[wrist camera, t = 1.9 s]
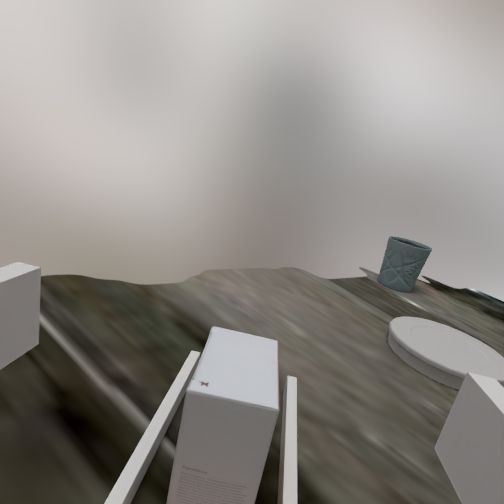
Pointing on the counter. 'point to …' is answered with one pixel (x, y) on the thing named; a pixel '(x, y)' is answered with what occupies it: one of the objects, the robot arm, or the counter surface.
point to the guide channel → (156, 430)
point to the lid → (443, 351)
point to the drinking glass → (402, 263)
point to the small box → (227, 421)
